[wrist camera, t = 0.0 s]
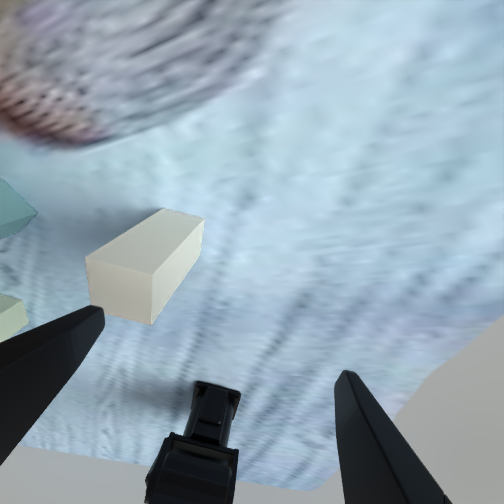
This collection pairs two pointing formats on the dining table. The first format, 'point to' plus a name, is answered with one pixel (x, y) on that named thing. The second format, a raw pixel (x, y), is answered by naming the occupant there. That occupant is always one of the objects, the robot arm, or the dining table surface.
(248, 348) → the dining table surface
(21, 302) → the sage post
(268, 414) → the dining table surface
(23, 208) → the teal post
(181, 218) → the off-white post
